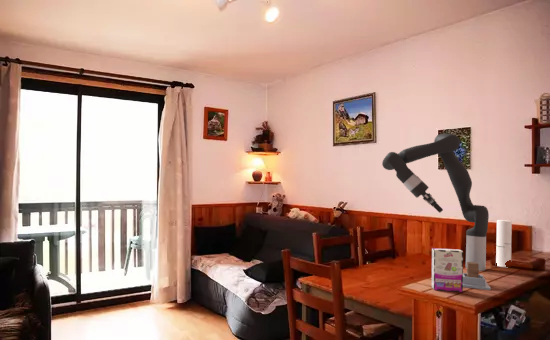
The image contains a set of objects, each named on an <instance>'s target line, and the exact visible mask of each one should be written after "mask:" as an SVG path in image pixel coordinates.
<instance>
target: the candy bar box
mask: <svg viewBox="0 0 550 340" xmlns="http://www.w3.org/2000/svg"><path fill="white" fill-rule="evenodd" d="M463 273H464V251H463V250H462V249H456V248H455V249H454V248H440V247H439V248H435V247H432V248H431V288H432V289H433V290H434V291H439V292H442V291H443V292H444V291H445V292H456V293H457V292H458V293H463V291H464V287H463Z"/></svg>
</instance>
